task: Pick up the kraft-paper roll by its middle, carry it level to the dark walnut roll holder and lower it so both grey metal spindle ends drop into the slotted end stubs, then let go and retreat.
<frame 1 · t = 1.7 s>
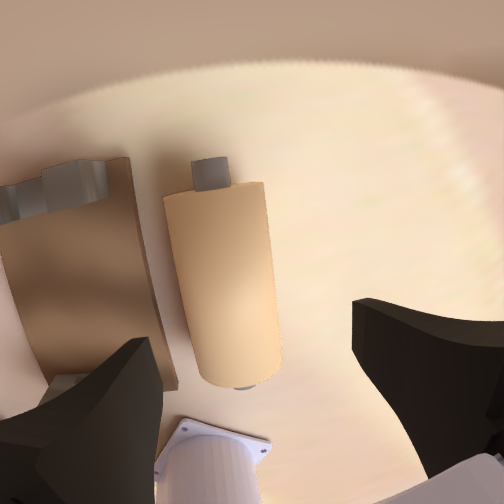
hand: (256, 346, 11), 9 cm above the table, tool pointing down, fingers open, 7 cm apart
paper roll: (227, 283, 17), point 2 cm above the table, tilted 13°
roll holder: (79, 292, 18), on the table
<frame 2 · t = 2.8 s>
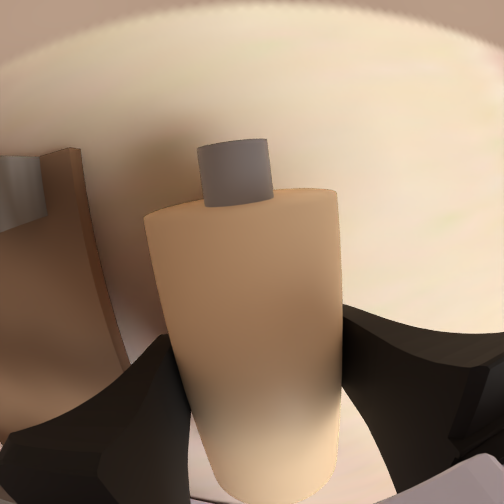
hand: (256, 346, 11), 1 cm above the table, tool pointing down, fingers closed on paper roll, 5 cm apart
paper roll: (261, 363, 10), point 2 cm above the table, touching gripper
roll holder: (26, 352, 11), on the table
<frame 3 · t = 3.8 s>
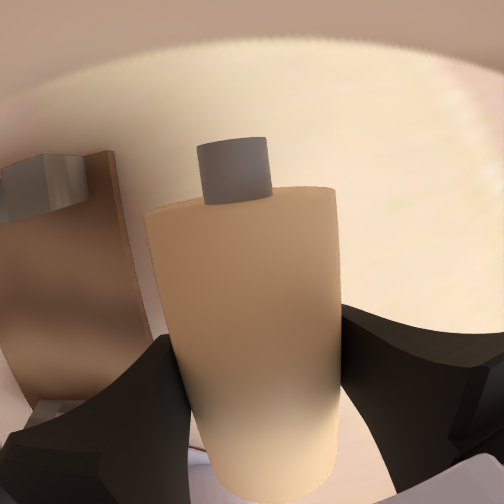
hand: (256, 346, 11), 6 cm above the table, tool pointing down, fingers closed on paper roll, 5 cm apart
paper roll: (260, 360, 10), point 7 cm above the table, touching gripper
roll holder: (60, 311, 15), on the table
when the fingers open (4 cm above the table, at t = 6.3 s): paper roll drops 1 cm, resting on roll holder.
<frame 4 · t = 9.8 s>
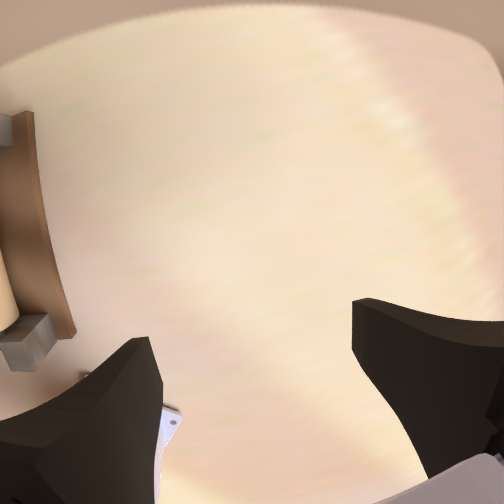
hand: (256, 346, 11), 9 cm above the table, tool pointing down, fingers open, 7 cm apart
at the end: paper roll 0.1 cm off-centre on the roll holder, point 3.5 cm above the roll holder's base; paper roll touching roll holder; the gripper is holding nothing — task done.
